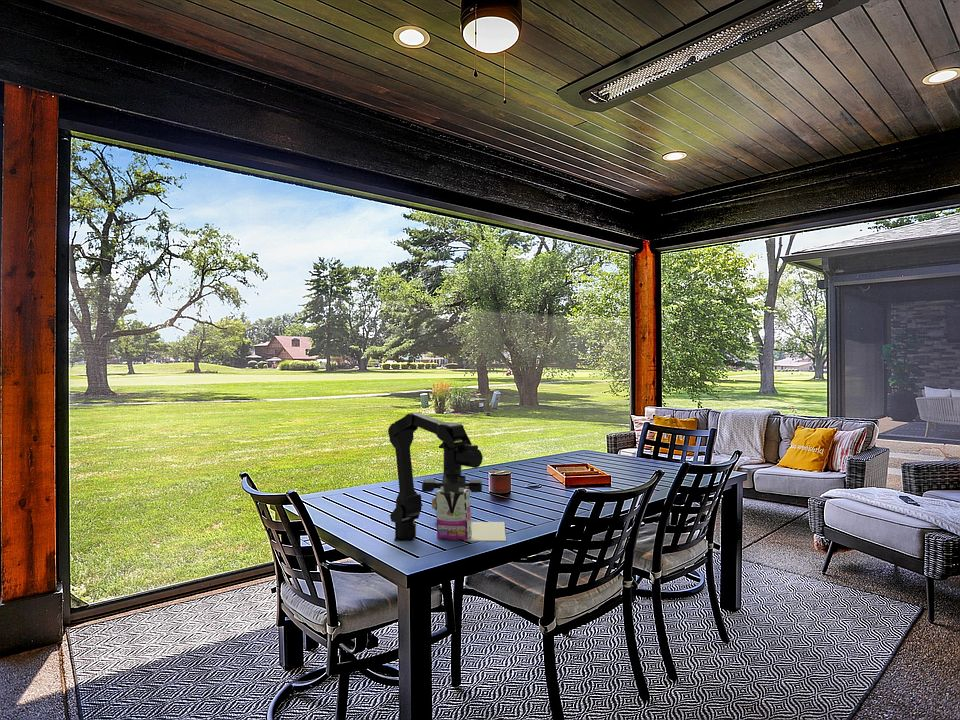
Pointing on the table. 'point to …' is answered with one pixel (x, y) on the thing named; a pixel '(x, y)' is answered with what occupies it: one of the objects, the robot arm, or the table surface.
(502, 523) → the placemat
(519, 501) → the table surface
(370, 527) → the table surface
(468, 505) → the candy bar box
